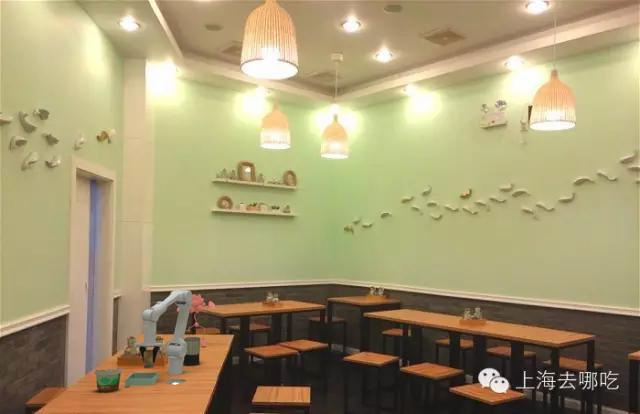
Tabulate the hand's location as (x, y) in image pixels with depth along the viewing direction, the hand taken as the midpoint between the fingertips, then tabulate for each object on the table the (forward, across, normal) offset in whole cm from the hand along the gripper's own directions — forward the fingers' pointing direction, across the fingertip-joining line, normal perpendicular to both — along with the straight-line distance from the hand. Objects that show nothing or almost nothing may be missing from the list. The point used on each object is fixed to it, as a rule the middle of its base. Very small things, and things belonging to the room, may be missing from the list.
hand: (149, 362), depth 278 cm
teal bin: (+10, -3, 0) cm, 11 cm away
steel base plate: (+10, +13, 0) cm, 17 cm away
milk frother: (+11, +12, +40) cm, 44 cm away
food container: (+11, -16, -13) cm, 23 cm away
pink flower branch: (+10, +11, +92) cm, 93 cm away
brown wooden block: (+2, 0, 0) cm, 2 cm away
